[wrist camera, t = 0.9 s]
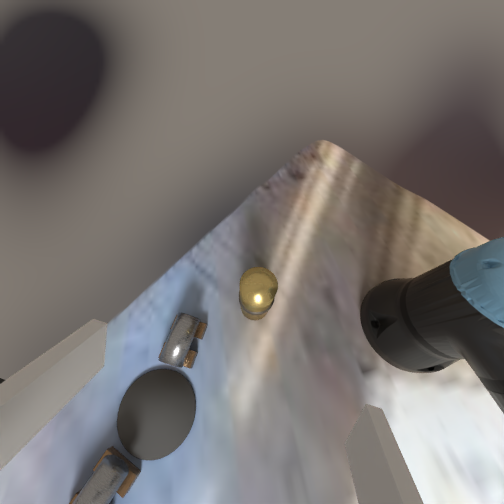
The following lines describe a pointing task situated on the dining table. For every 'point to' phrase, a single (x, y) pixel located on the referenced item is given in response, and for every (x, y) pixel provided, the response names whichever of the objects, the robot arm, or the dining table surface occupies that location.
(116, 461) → the shaft
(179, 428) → the socket pad
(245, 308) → the gold cylinder with ring
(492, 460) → the dining table surface
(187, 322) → the shaft
